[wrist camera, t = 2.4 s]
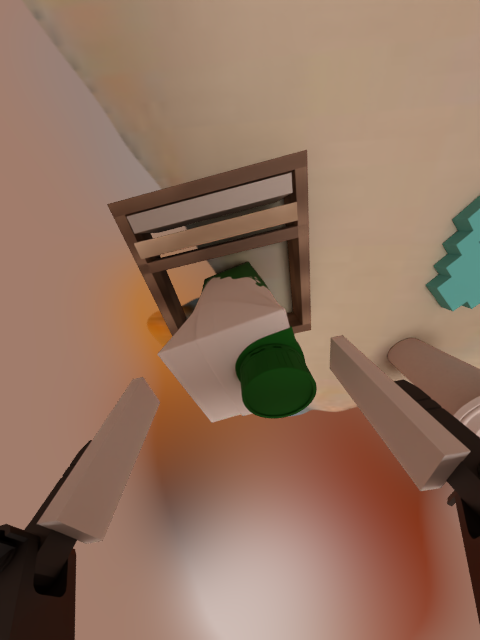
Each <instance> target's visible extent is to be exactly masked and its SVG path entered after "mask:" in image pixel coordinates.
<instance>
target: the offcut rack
mask: <svg viewBox="0 0 480 640" xmlns="http://www.w3.org/2000/svg"><path fill="white" fill-rule="evenodd" d="M288 173H291V174H292V192H293V193H291V194H289V195H288V196H286V197H284V204H285V205H286V204H290V203H294V202H297V216H298V220H297V221H293V222H289V223H286V227H283V228H279V229H275V230H271V231H267V232H263V233H259V234H255V235H251V236H247V237H243V238H239V239H235V240H231V241H227V242H223V243H219V244H215V245H211V246H207V247H203V248H199V249H195V250H191V251H187V252H183V253H179V254H175V255H171V256H167V257H162V258H161V257H160V255H157V256H153V257H149V258H145V259H141V258H140V256H139V253H138V251H137V249H136V247H135V245H134V243H138V242H142V241H146V240H150V239H153V238H152V236H151V233H138V234H134V231H133V229H132V227H131V225H130V223H129V221H128V219H127V216H131V215H134V214H138V213H142V212H146V211H149V210H153V209H157V208H161V207H164V206H168V205H172V204H176V203H179V202H183V201H187V200H191V199H194V198H198V197H202V196H206V195H209V194H213V193H217V192H221V191H224V190H228V189H232V188H236V187H239V186H243V185H247V184H251V183H254V182H258V181H262V180H266V179H269V178H273V177H277V176H281V175H284V174H288ZM108 207H109V209H110V211H111V213H112V215H113V217H114V219H115V221H116V223H117V225H118V227H119V229H120V231H121V233H122V235H123V237H124V239H125V241H126V243H127V245H128V247H129V249H130V251H131V253H132V255H133V257H134V259H135V261H136V263H137V265H138V267H139V269H140V271H141V273H142V275H143V277H144V279H145V282H146V284H147V285H148V288H149V290H150V291H151V294H152V296H153V297H154V300H155V302H156V304H157V306H158V308H159V310H160V312H161V314H162V316H163V318H164V320H165V322H166V324H167V326H168V328H169V330H170V332H171V334H172V336H174V334H175V333H176V332H177V331H178V330H179V329H180V327H181V326H182V325H183V324H184V323H185V322H186V320H187V318H186V316H185V314H184V311H183V309H182V307H181V304H180V302H179V299H178V297H177V295H176V293H175V290H174V288H173V285H172V283H171V281H170V278H169V276H168V274H167V271H166V270H167V269H171V268H176V267H180V266H183V265H188V264H191V263H196V262H200V261H204V260H208V259H213V258H217V257H221V256H225V255H229V254H233V253H237V252H241V251H245V250H249V249H254V248H258V247H262V246H266V245H270V244H274V243H278V242H282V241H286V240H287V242H288V255H289V268H290V281H291V293H292V306H293V312H291V313H286V314H287V318H288V322H289V325H290V326H292V329H293V332H294V333H299V332H303V331H308V330H311V306H310V261H309V217H308V172H307V150H304V151H301V152H297V153H293V154H290V155H286V156H282V157H279V158H275V159H271V160H268V161H264V162H260V163H257V164H253V165H249V166H246V167H242V168H238V169H235V170H231V171H228V172H224V173H220V174H217V175H213V176H209V177H206V178H202V179H198V180H195V181H191V182H187V183H184V184H180V185H176V186H173V187H169V188H165V189H162V190H158V191H154V192H151V193H147V194H143V195H140V196H136V197H132V198H129V199H125V200H121V201H118V202H114V203H110V204H108Z"/></svg>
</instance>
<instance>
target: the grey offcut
mask: <svg viewBox="0 0 480 640" xmlns="http://www.w3.org/2000/svg"><path fill="white" fill-rule="evenodd" d="M291 193H293V192H292V174H291V173H288V174H284V175H281V176H277V177H273V178H269V179H266V180H262V181H258V182H254V183H251V184H247V185H243V186H239V187H236V188H232V189H228V190H224V191H221V192H217V193H213V194H209V195H206V196H202V197H198V198H194V199H191V200H187V201H183V202H179V203H176V204H172V205H168V206H164V207H161V208H157V209H153V210H149V211H146V212H142V213H138V214H134V215H131V216H127V219H128V221H129V223H130V225H131V227H132V229H133V231H134V234H138V233H159V232H163V231H167V230H170V229H174V228H178V227H182V226H186V225H190V224H193V223H197V222H201V221H205V220H209V219H213V218H217V217H221V216H225V215H228V214H232V213H236V212H240V211H244V210H248V209H252V208H256V207H259V206H263V205H267V204H271V203H275V202H277V201H279V200H281V199H283V198H284V197H286V196H288V195H289V194H291Z"/></svg>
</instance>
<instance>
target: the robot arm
mask: <svg viewBox="0 0 480 640" xmlns="http://www.w3.org/2000/svg"><path fill="white" fill-rule="evenodd" d="M330 369H331V371H332V372H333V373H334V375H335V376H336V377H337V379H338V380H339V381H340V383H341V384H342V386H343V387H344V388H345V390H346V391H347V392H348V394H349V395H350V396H351V398H352V399H353V400H354V402H355V403H356V404H357V406H358V407H359V408H360V410H361V411H362V412H363V414H364V415H365V417H366V418H367V419H368V421H369V422H370V423H371V425H372V426H373V427H374V429H375V430H376V431H377V433H378V434H379V435H380V437H381V438H382V440H383V441H384V442H385V444H386V445H387V446H388V448H389V449H390V450H391V452H392V453H393V454H394V456H395V457H396V459H397V460H398V461H399V463H400V464H401V465H402V467H403V468H404V469H405V471H406V472H407V473H408V475H409V476H410V477H411V479H412V480H413V481H414V483H415V484H416V486H417V487H418V488H419V490H420V491H424V490H430V489H436V488H441V487H442V486H443V485H444V484H445V482H446V481H447V482H448V483H449V484H450V485H451V486H452V488H453V489H454V492H453V493H452V494H451V495H450V496H449V497H448V501H447V504H448V505H450V506H453V505H454V504H455V503H456V506H457V511H458V517H459V522H460V527H461V532H462V537H463V542H464V547H465V552H466V557H467V562H468V567H469V572H470V577H471V582H472V587H473V593H474V598H475V603H476V608H477V613H478V618H479V623H480V437H479V436H477V435H476V434H475V433H474V432H472V431H471V430H470V429H469V428H468V427H466V426H465V425H464V424H463V423H461V422H460V421H459V420H458V419H457V418H455V417H454V416H453V415H452V414H450V413H449V412H448V411H447V410H445V409H444V408H442V407H441V405H439V404H438V403H437V402H436V401H434V400H432V399H431V397H430V396H428V395H427V394H426V393H425V392H423V391H422V390H421V389H420V388H419V387H417V386H415V385H413V384H411V383H409V382H407V381H405V380H399V381H393V380H391V379H390V378H389V377H388V376H387V375H386V374H385V373H384V372H383V371H382V370H380V369H379V368H378V367H377V366H376V365H375V364H374V363H373V362H372V361H371V360H369V359H368V358H367V357H366V356H365V355H364V354H363V353H362V352H361V351H359V350H358V349H357V348H356V347H355V346H354V345H353V344H352V343H351V342H350V341H348V340H347V339H346V338H345V337H344V336H343V335H341V336H336V337H332V338H331V348H330ZM159 404H160V402H159V400H158V398H157V397H156V395H155V394H154V393H153V391H152V390H151V388H150V387H149V385H148V384H147V382H146V381H145V379H144V378H143V377H141V378H136V379H133V380H132V381H131V383H130V384H129V386H128V387H127V389H126V390H125V392H124V393H123V395H122V396H121V398H120V399H119V401H118V402H117V404H116V405H115V407H114V408H113V410H112V411H111V413H110V414H109V416H108V417H107V419H106V420H105V422H104V423H103V425H102V426H101V428H100V429H99V431H98V433H97V434H96V435H95V437H94V438H93V440H90V441H89V442H88V443H87V444H86V445H85V446H84V447H83V448H82V449H81V450H80V451H79V453H78V454H77V455H76V457H75V458H74V460H73V461H72V463H71V464H70V467H68V469H67V470H66V471H65V473H64V474H63V477H62V478H61V479H60V480H59V482H58V483H57V484H56V486H55V487H54V489H53V490H52V492H51V493H50V495H49V496H48V497H47V499H46V500H45V502H44V503H43V504H42V506H41V507H40V509H39V510H38V512H37V513H36V515H35V516H34V518H33V519H32V521H31V522H30V523H29V525H28V526H27V527H26V528H25V530H22V529H19V528H16V527H13V526H10V525H8V524H5V525H2V526H0V640H74V639H75V638H74V637H75V585H76V552H75V549H73V547H74V545H75V543H76V541H77V540H79V541H81V542H83V543H93V542H99V541H103V539H104V537H105V534H106V532H107V529H108V527H109V525H110V522H111V520H112V517H113V515H114V512H115V510H116V508H117V505H118V503H119V500H120V498H121V496H122V493H123V491H124V488H125V486H126V483H127V481H128V479H129V476H130V474H131V471H132V469H133V467H134V464H135V462H136V459H137V457H138V454H139V452H140V450H141V447H142V445H143V442H144V440H145V438H146V435H147V433H148V430H149V428H150V425H151V423H152V421H153V418H154V416H155V413H156V411H157V409H158V406H159Z"/></svg>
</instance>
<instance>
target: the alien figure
mask: <svg viewBox="0 0 480 640" xmlns="http://www.w3.org/2000/svg"><path fill="white" fill-rule="evenodd" d="M452 220H453V222H454V224H455V226H456V228H457V230H458V231H457V232H456V233H455V234H453V235H452V236H451V237H450V238H449V239H448V240H446V241H445V242H444V243H443V244H442V245H443V246H444V248H445V250H446V251H447V253H448V254H447V255H446V256H445V257H443V258H442V259H441V260H440V261H438V262H437V263H436V264H435V265H434V267H435V269H436V270H437V272H438V273H439V275H438V276H436V277H435V278H434V279H432V280H431V281H430V282H429V283H427V284H426V286H427V288H428V289H429V291H430V292H431V293H432V295H433V296H434V297H435V299H436V300H437V302H438V303H439V304H440V306H441V307H443V308H446V309H448V310H451V311H454V310H456V309H457V308H458V307H460V306H461V305H462V306H465V307H468V308H471V309H472V308H474V307H475V306H477V305H478V304H480V196H479V197H477V198H476V199H475V200H474V201H473V202H472V203H471V204H469V205H468V206H467V207H466V208H465V209H464V210H463V211H461V212H460V213H459V214H458V215H457V216H456V217H455V218H453V219H452Z"/></svg>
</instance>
